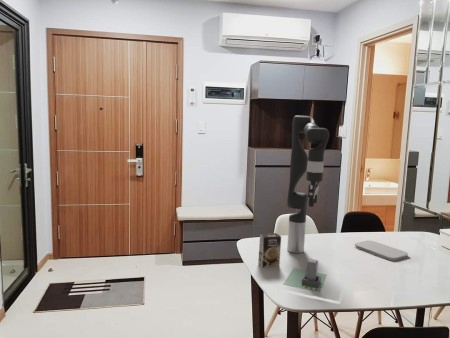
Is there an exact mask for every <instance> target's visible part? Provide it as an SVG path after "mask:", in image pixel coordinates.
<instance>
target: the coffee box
mask: <svg viewBox="0 0 450 338" xmlns="http://www.w3.org/2000/svg"><path fill="white" fill-rule="evenodd" d="M281 242H282V236H281V235H280V234H278V233H276V232H275V233H274V232H272V233H260V234H259V245H258V246H259V248H258V259H257V261H258V263H257V265H258V266H261V267H262V268H271V267H280V264H281V263H280V261H281V260H280V259H281V244H282V243H281Z"/></svg>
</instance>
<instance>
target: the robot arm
mask: <svg viewBox="0 0 450 338" xmlns="http://www.w3.org/2000/svg"><path fill="white" fill-rule="evenodd" d="M292 118H293V119H292V122H291V123H292V126H291V127H292V128H291V131H292V132H291V133H292V134H291V138H292V139H291V153H290V163H289V164H290V165H289V166H290V167H289V168H290V169H289V183H288V192H287V201H286V204H287V205H286V206H287V207H288V209H296V210H299V211H298V212H295V213H291V214H290V215H289V217H288V231H287V232H288V234H287V248H286V249H287V250H286V251H288V252H289V253H294V254H301V253H304V251H305V240H306V226H307V225H306V222H307V210H308V209H307V208H308V207H311V208H313V207H314V204H317V202H318V195H319V194H320V193H319V187H320V186H319V185H320V182H323V179H324V167H325V166H324V160H325V159H324V158H325V149H326V147H327V144H328V142H329V139H330V132H329V130H328V128H325V127H319V126H318V125H317V124H316V122H315V120H314V118H313V116H309V115H294V117H292ZM299 133H300V134H304V135H305V140H306V142H307V143H310V144H319V145H318V146H317V147H313V148H309V150H308V152H306V150H305V149H304V146H303V144H302V143H301V140H300V136H299V135H300V134H299ZM304 175H306V177H305V179H306V181H308V182H310V184H308V191H307V192H308V194H307V193H306V192H299V191H295V190H296V188H297V185H298V183H299V181H300V180H301V179H302V177H303V176H304Z"/></svg>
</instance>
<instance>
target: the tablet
mask: <svg viewBox="0 0 450 338" xmlns="http://www.w3.org/2000/svg"><path fill="white" fill-rule="evenodd" d="M354 246H355V248H356V249H359V250H361V251H364V252H366V253H368V254H371V255H374V256H377V257H378V258H379V257H380V258H382V259H385V260H388V261H393V262H394V261H397V260H401V259H405V258H407V256H409V252H407V251H404V250H402V249H399V248H397V247H396V248H395V247H393V246H389V245H386V244H383V243H381V242H377V241H375V240H363V241H360V242H358V241H357V242H355V243H354Z"/></svg>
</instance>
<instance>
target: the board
mask: <svg viewBox="0 0 450 338" xmlns="http://www.w3.org/2000/svg"><path fill="white" fill-rule="evenodd" d="M306 273H307V269H306V270H305V269H299V268H295V267H293V268H292V269H291V270H290V273H289V275H288V276H286V278H285V280H284V282H283V283H282V285H284V286H289V287H293V288H299V289H304V290H307V291H312V292H317V293H321V292H322V289H323V286H324V283H325V280H326V278H327V276H328V275H327V274H326V273H321V272H317V281H312V280H307V279H306Z"/></svg>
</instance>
